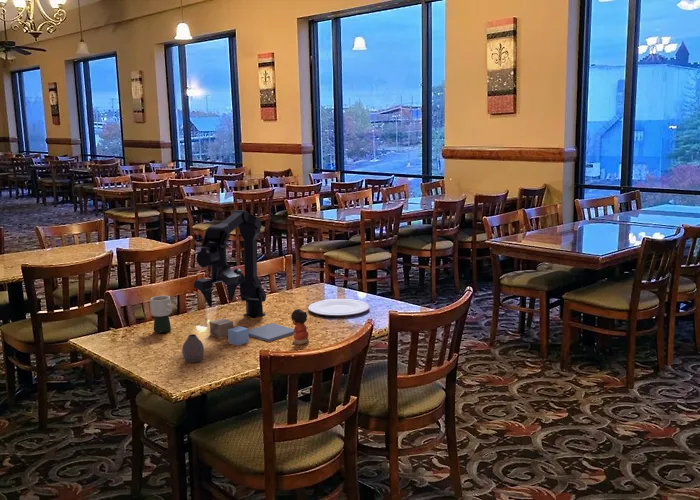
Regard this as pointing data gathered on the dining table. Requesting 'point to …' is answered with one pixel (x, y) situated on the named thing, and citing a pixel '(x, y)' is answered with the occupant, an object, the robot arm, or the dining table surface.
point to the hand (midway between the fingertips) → (220, 303)
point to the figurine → (300, 326)
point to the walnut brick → (220, 327)
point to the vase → (193, 349)
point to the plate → (338, 307)
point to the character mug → (161, 313)
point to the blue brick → (238, 335)
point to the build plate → (270, 332)
